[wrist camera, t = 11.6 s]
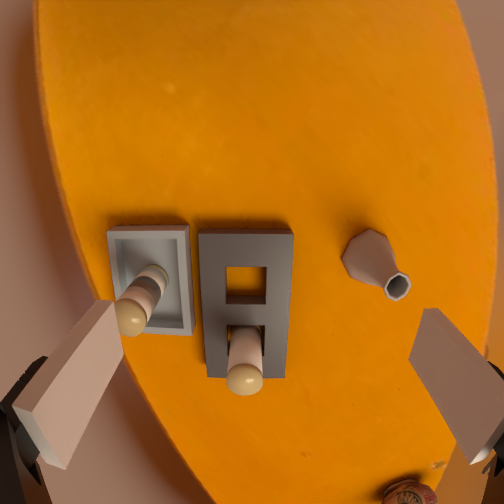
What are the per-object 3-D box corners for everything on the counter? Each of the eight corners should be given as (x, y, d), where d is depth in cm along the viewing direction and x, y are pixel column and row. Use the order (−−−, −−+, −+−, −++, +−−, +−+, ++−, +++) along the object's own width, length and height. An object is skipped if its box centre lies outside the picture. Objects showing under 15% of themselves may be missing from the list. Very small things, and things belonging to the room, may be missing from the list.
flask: (331, 259, 41) (353, 292, 31) (368, 218, 39) (401, 239, 30) (366, 291, 42) (392, 328, 33) (401, 253, 41) (437, 281, 31)
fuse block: (201, 228, 39) (198, 233, 37) (291, 229, 40) (293, 234, 37) (209, 366, 46) (207, 377, 43) (283, 367, 46) (284, 377, 44)
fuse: (231, 318, 43) (225, 368, 33) (260, 319, 43) (263, 368, 33) (231, 342, 45) (227, 394, 34) (260, 343, 45) (262, 395, 34)
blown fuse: (138, 264, 40) (105, 301, 30) (167, 264, 40) (141, 303, 30) (142, 292, 41) (112, 335, 31) (170, 292, 41) (147, 338, 31)
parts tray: (115, 225, 39) (106, 231, 36) (189, 224, 39) (184, 230, 36) (128, 320, 44) (121, 331, 41) (195, 324, 44) (192, 335, 41)
